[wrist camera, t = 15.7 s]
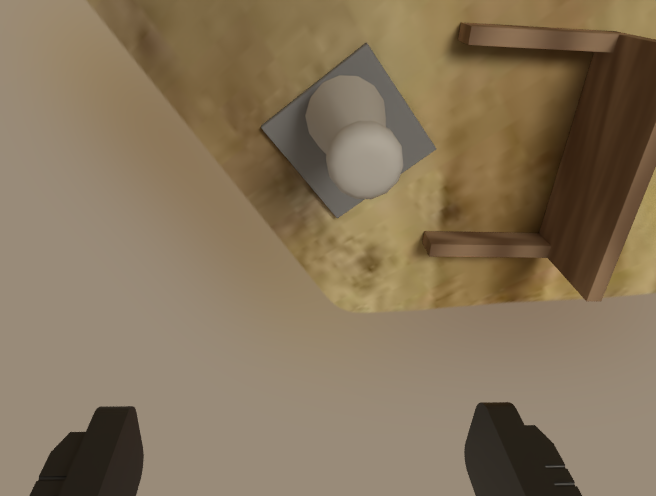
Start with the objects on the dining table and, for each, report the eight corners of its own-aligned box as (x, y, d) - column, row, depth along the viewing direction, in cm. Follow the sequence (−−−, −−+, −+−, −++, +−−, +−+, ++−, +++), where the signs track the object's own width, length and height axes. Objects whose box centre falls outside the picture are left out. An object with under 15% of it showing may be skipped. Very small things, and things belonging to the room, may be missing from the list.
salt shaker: (322, 156, 40) (337, 232, 28) (292, 88, 37) (296, 143, 26) (390, 126, 39) (433, 193, 28) (365, 56, 36) (401, 97, 25)
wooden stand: (422, 242, 45) (451, 300, 37) (460, 22, 36) (509, 38, 28) (547, 244, 46) (601, 301, 39) (615, 31, 37) (703, 49, 30)
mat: (261, 125, 39) (261, 127, 38) (366, 42, 36) (367, 43, 36) (336, 215, 43) (337, 218, 43) (434, 146, 41) (436, 148, 40)
